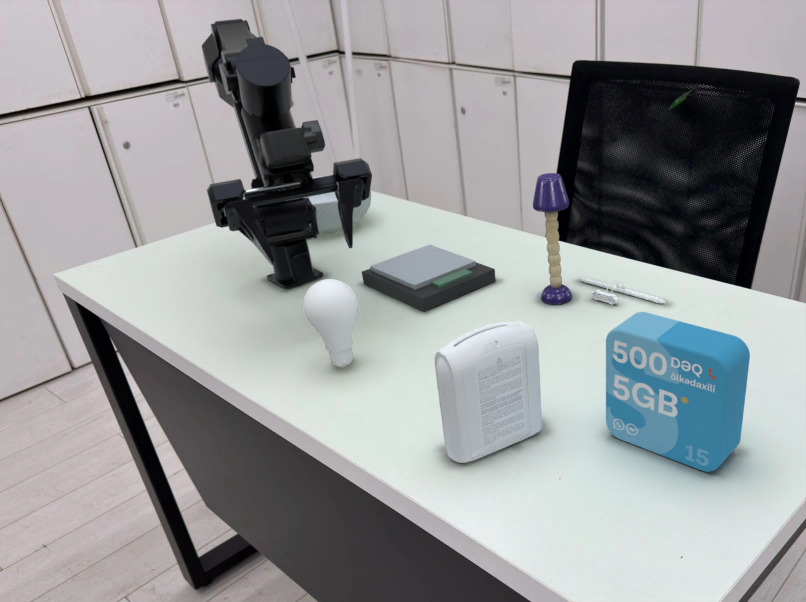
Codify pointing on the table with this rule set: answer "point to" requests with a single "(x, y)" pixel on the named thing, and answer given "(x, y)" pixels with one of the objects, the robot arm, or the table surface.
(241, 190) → the robot arm
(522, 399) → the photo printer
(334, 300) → the lightbulb
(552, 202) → the toy lamp
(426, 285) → the scale
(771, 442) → the table surface
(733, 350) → the data package
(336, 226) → the cereal bowl
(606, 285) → the picture light
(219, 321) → the table surface
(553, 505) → the table surface
